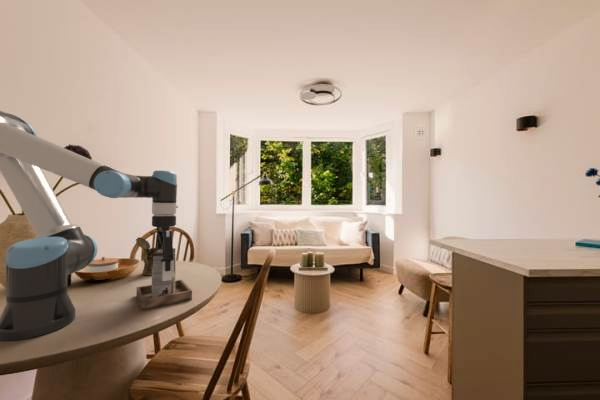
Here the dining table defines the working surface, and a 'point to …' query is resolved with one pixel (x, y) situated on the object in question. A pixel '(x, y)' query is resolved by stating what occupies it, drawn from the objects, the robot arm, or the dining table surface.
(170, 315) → the dining table surface
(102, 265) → the lidded jar
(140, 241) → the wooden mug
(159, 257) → the coffee box
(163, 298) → the walnut tray
